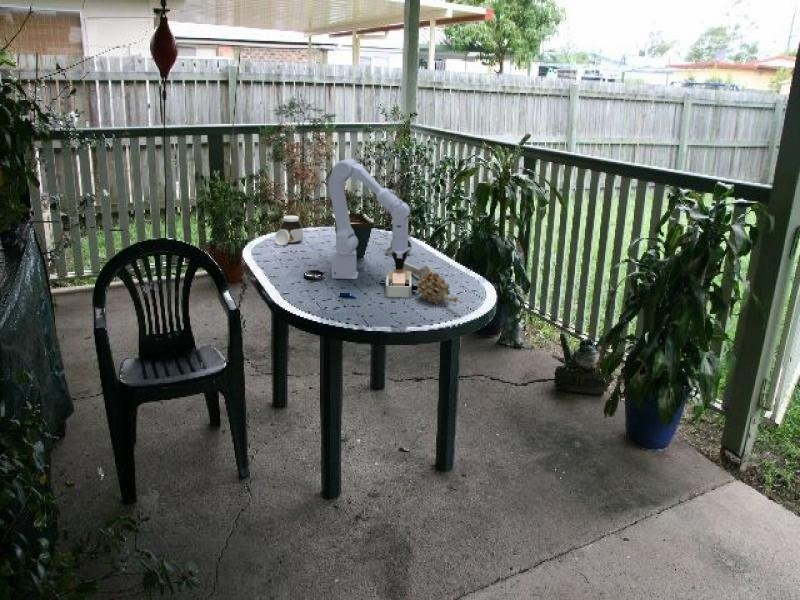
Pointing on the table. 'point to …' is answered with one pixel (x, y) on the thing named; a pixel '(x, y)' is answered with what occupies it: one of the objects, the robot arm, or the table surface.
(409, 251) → the ceramic mug
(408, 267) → the wrench
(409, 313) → the table surface
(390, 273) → the board
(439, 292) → the pine cone
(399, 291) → the tray
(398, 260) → the robot arm
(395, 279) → the tile
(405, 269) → the tile
